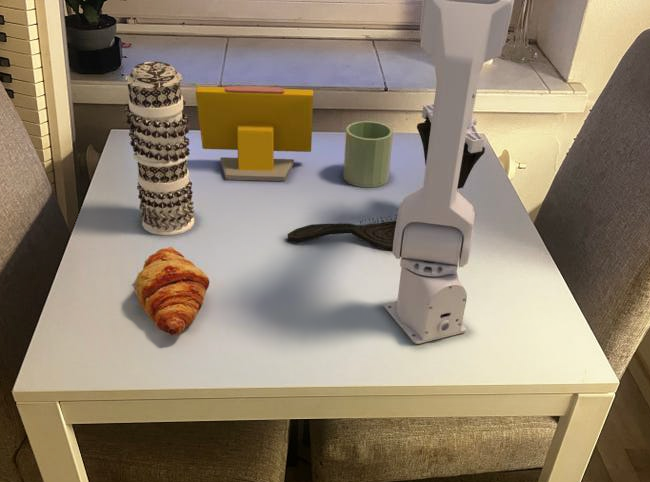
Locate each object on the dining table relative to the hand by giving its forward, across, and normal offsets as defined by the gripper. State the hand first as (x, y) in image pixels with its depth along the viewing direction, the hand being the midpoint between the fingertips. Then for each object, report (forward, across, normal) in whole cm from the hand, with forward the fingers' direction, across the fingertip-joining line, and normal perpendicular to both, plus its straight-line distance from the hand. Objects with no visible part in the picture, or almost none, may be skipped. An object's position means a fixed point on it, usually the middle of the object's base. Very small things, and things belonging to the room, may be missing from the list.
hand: (444, 177), depth 122 cm
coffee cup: (+8, +20, +4) cm, 22 cm away
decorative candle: (+9, +16, +42) cm, 45 cm away
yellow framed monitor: (+9, +29, +22) cm, 37 cm away
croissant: (+9, -6, +47) cm, 48 cm away
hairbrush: (+9, 0, +14) cm, 16 cm away
